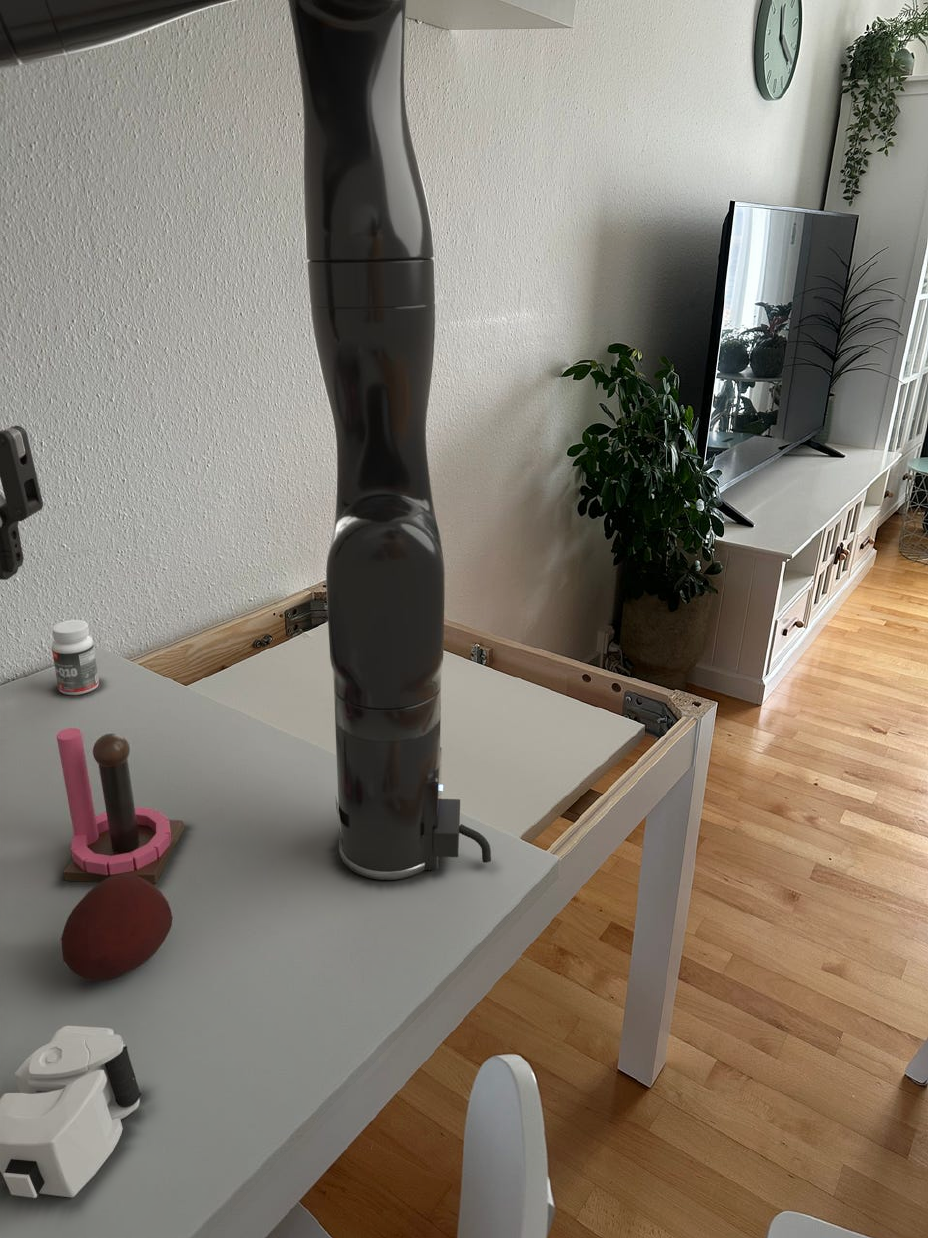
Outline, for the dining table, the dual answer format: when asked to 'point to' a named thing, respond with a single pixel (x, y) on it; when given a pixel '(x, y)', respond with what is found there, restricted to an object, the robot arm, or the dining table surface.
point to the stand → (121, 815)
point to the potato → (115, 928)
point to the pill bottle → (74, 658)
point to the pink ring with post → (102, 816)
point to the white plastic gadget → (66, 1112)
